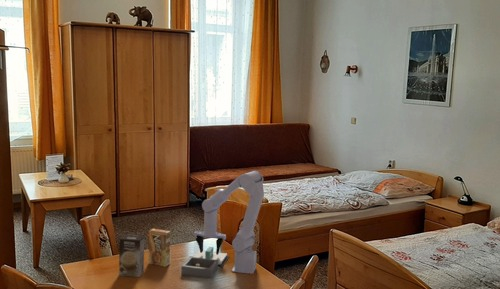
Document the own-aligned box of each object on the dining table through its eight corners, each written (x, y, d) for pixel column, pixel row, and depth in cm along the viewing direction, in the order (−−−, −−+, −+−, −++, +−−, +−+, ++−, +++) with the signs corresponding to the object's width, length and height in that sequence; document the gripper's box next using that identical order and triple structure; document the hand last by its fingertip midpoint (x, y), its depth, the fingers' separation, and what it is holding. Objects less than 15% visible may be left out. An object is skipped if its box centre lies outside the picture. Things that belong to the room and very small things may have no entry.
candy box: (170, 263, 210) (170, 230, 208) (165, 267, 206) (166, 233, 204) (153, 260, 213) (153, 228, 211) (148, 263, 209) (148, 230, 207)
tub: (217, 268, 207) (218, 260, 206) (210, 278, 196) (211, 269, 196) (189, 265, 209) (190, 256, 209) (181, 275, 199) (181, 266, 198)
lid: (227, 256, 220) (227, 246, 220) (220, 266, 209) (220, 255, 208) (198, 253, 223) (198, 243, 222) (190, 262, 211) (190, 252, 211)
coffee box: (118, 275, 196) (118, 238, 193) (123, 269, 202) (123, 233, 200) (139, 277, 195) (139, 240, 192) (144, 271, 201) (144, 235, 199)
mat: (229, 256, 221) (229, 256, 221) (222, 267, 208) (222, 266, 208) (197, 253, 224) (197, 252, 224) (188, 263, 212) (188, 262, 211)
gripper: (228, 223, 216) (227, 251, 218) (197, 220, 219) (197, 248, 221) (224, 227, 210) (223, 257, 211) (193, 224, 212) (192, 253, 214)
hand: (209, 252), depth 216 cm, fingers open, 7 cm apart
